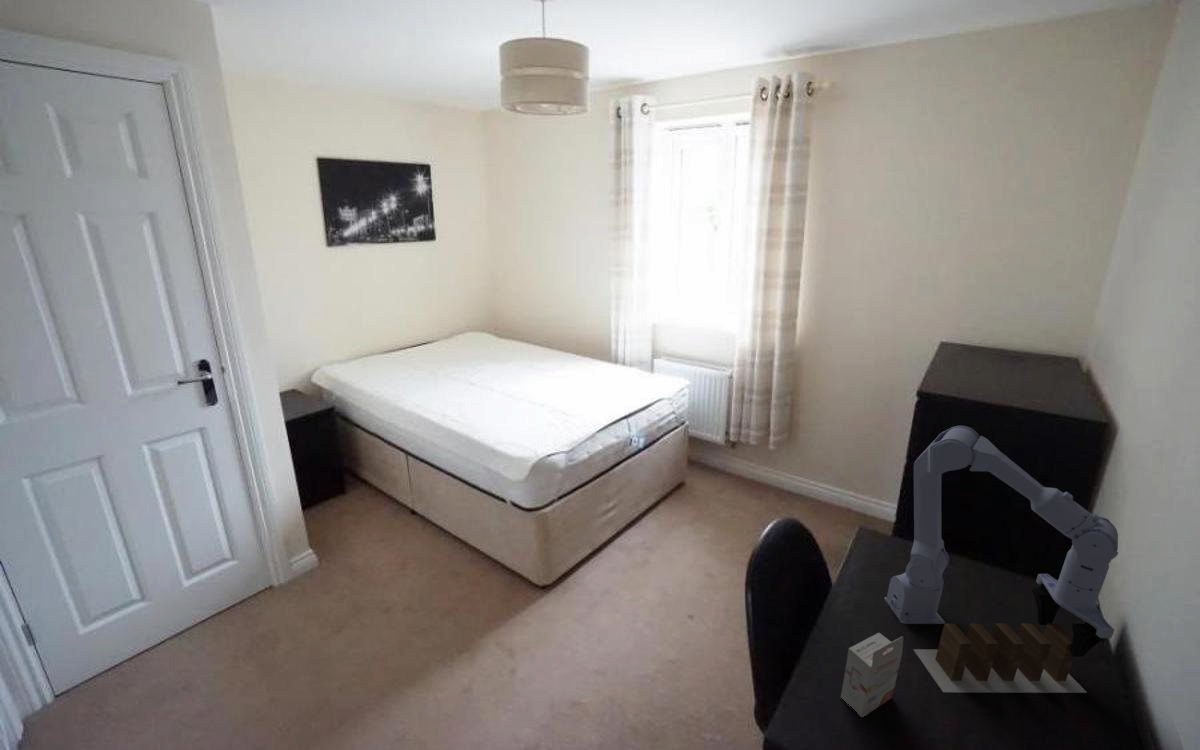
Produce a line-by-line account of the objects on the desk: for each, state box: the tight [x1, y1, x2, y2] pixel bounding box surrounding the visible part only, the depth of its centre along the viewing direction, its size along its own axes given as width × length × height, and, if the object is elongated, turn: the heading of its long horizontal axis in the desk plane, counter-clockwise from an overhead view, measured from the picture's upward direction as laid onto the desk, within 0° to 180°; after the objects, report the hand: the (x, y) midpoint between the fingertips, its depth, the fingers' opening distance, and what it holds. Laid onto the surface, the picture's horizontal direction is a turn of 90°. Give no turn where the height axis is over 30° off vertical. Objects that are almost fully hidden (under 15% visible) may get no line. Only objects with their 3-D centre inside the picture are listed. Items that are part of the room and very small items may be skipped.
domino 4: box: [1016, 623, 1052, 681], centre depth 103 cm, size 2×5×9 cm, turn 0°
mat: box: [913, 648, 1088, 694], centre depth 104 cm, size 27×10×1 cm, turn 90°
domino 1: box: [935, 622, 972, 681], centre depth 103 cm, size 2×5×9 cm, turn 0°
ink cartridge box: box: [840, 632, 904, 718], centre depth 96 cm, size 9×5×15 cm, turn 117°
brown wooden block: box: [1042, 623, 1075, 681], centre depth 103 cm, size 2×5×9 cm, turn 179°
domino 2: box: [965, 622, 998, 681], centre depth 103 cm, size 2×5×9 cm, turn 0°
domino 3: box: [991, 623, 1025, 681], centre depth 103 cm, size 2×5×9 cm, turn 0°
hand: (1060, 638), depth 102 cm, fingers open, 7 cm apart
